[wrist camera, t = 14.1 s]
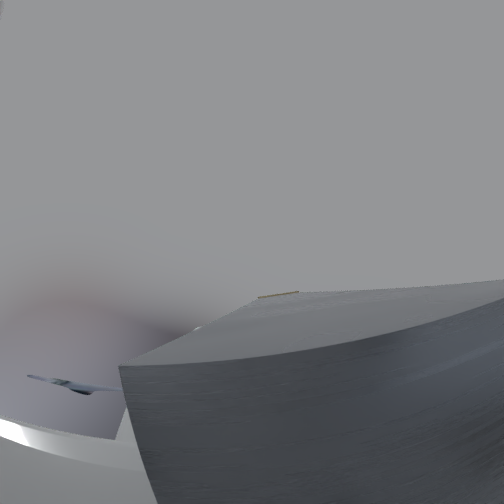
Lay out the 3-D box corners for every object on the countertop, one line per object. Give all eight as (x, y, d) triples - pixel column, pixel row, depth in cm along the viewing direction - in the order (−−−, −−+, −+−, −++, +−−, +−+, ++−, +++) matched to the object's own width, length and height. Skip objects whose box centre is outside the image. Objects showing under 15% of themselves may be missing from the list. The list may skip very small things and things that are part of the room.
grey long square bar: (216, 624, 1) (98, 347, 1) (263, 335, 24) (258, 296, 25) (510, 542, 1) (567, 255, 1) (302, 329, 24) (297, 291, 24)
